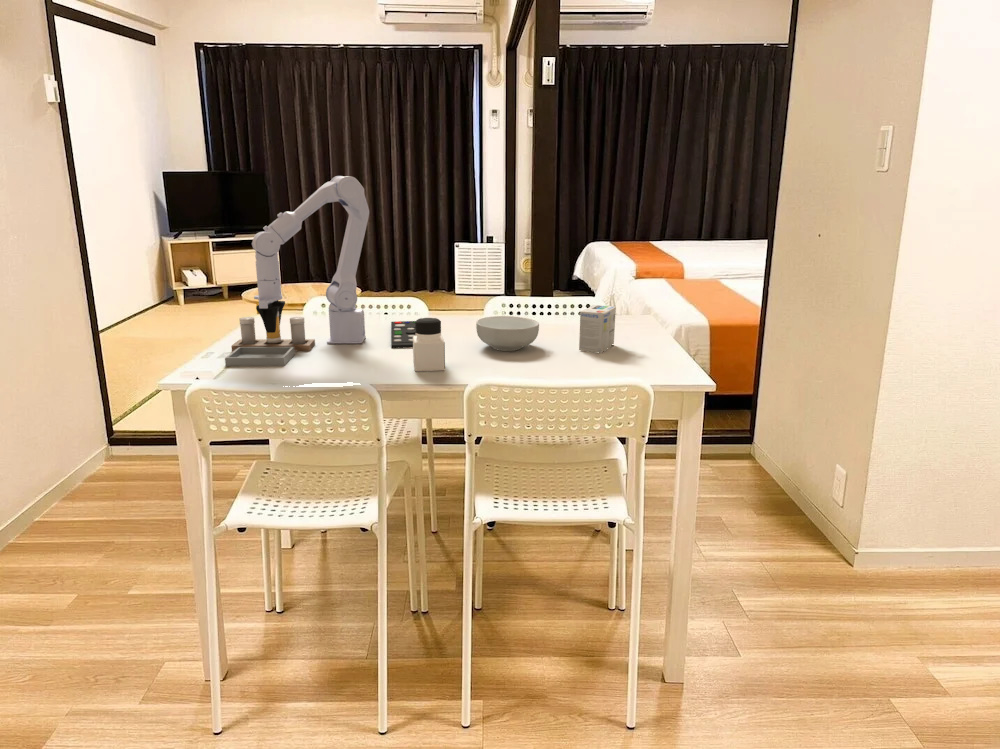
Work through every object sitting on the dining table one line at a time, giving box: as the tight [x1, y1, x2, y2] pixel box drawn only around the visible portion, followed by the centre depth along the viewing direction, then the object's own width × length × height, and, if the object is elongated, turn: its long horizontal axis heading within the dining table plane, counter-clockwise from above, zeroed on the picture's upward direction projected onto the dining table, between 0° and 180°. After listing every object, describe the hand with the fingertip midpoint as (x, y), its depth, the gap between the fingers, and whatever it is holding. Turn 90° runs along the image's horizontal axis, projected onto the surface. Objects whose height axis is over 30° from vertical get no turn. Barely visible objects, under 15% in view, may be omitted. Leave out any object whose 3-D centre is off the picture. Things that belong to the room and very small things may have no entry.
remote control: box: [390, 320, 416, 349], centre depth 207 cm, size 11×30×2 cm, turn 8°
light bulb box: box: [578, 304, 617, 354], centre depth 193 cm, size 11×7×11 cm, turn 154°
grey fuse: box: [289, 316, 306, 344], centre depth 191 cm, size 4×4×8 cm
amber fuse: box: [265, 311, 282, 343], centre depth 190 cm, size 4×4×8 cm
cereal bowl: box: [475, 315, 540, 352], centre depth 193 cm, size 17×17×7 cm
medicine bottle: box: [412, 316, 446, 373], centre depth 173 cm, size 7×7×12 cm
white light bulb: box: [239, 316, 257, 344], centre depth 190 cm, size 4×4×8 cm
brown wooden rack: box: [231, 338, 316, 352], centre depth 191 cm, size 20×7×2 cm, turn 92°
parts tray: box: [224, 347, 296, 367], centre depth 179 cm, size 14×11×2 cm
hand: (273, 330), depth 190 cm, fingers closed on amber fuse, 3 cm apart
